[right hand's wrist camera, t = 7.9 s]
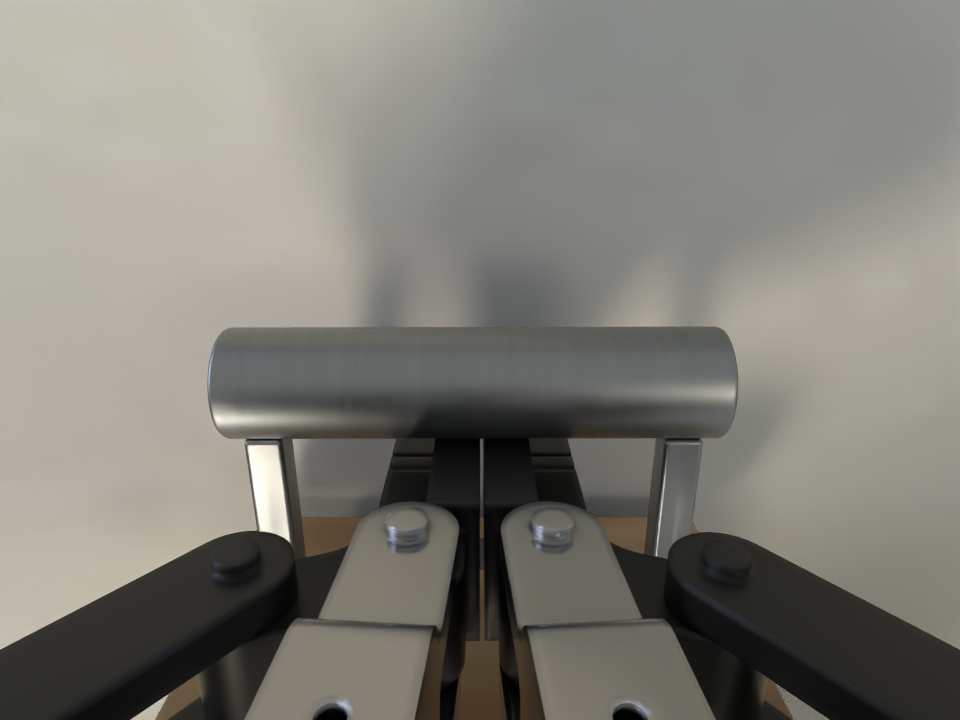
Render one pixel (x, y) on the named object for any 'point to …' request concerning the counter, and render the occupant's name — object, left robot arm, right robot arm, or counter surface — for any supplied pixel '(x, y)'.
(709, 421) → the drawer
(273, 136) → the counter surface
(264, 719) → the right robot arm
